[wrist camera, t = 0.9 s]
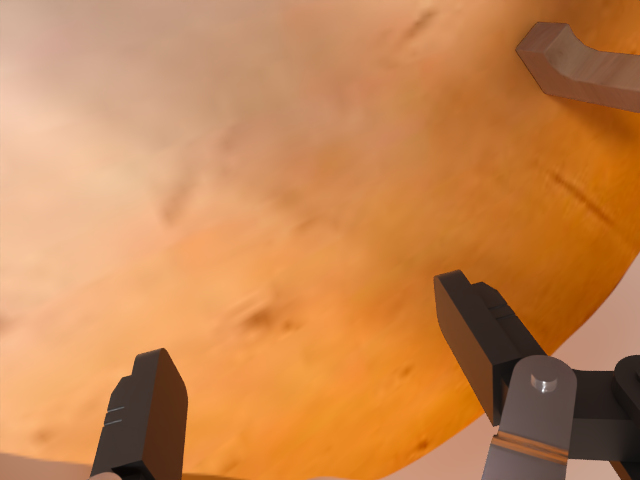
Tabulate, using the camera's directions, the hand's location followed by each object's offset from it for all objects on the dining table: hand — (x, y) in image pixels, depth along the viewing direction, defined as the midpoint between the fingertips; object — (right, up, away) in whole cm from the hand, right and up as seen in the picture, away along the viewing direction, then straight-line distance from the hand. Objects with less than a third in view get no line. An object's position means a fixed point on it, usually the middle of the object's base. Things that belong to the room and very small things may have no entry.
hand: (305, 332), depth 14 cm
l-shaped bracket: (+22, +20, +33) cm, 45 cm away
